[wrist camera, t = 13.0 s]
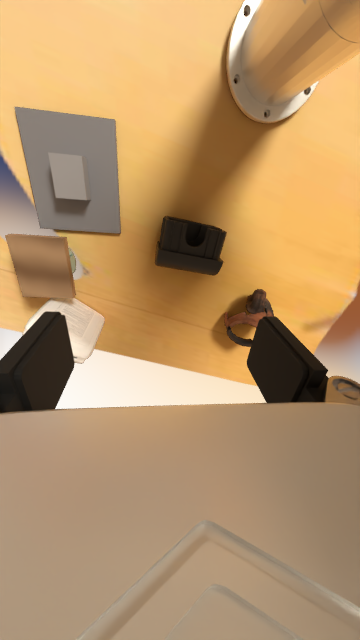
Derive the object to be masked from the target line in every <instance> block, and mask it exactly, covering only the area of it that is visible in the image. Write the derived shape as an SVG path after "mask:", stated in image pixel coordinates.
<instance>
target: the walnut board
mask: <svg viewBox="0 0 360 640" xmlns="http://www.w3.org/2000/svg"><path fill="white" fill-rule="evenodd" d="M5 237H6V240H7V244H8V247H9V250H10V254H11V257H12V261H13V264H14V268H15V271H16V275H17V278H18V281H19V285H20V288H21V292H22V295H23V297H48V298H74V297H75V295H76V292H75V286H74V280H73V274H72V268H71V261H70V255H69V249H68V243H67V237H55V236H39V235H22V234H8V235H6V236H5Z"/></svg>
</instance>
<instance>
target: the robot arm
mask: <svg viewBox="0 0 360 640" xmlns="http://www.w3.org/2000/svg"><path fill="white" fill-rule="evenodd" d="M243 13H245V14H246V17H245V16H244V14H243ZM359 53H360V0H244V1H243V3H242V5H241V7H240V9H239V11H238V13H237V16H236V18H235V21H234V23H233V26H232V29H231V33H230V37H229V40H228V47H227V55H226V70H227V77H228V83H229V87H230V90H231V94H232V96H233V98H234V100H235V102H236V104H237V106H238V107H239V108H240V110H241V111H242V112H243V113H244V114H245V115H246V116H248V117H249V118H250V119H252V120H254V121H256V122H261V123H274V122H278V121H281V120H283V119H285V118H287V117H289V116H290V115H292V114H293V113H295V112H296V111H297V110H298V109H299V108H300V107H301V106H302V105H303V104H304V103H305V102H306V101H307V100H308V99H309V97H310V96H311V95H312V93H313V91H314V90H315V88H316V86H317V84H318V82H319V80H320V79H322V78H323V77H325V76H326V75H328V74H329V73H331V72H332V71H334V70H335V69H337V68H338V67H340V66H341V65H343V64H344V63H346V62H347V61H349V60H350V59H352V58H353V57H355V56H356V55H358V54H359ZM234 80H236V81H237V83H236V84H235V83H234ZM304 91H305V94H304ZM264 113H265V114H266V117H264ZM247 366H248V368H249V370H250V372H251V374H252V376H253V378H254V380H255V382H256V384H257V385H258V387H259V389H260V391H261V393H262V395H263V397H264V399H265V400H266V402H267V403H248V404H247V403H245V404H205V405H173V406H172V405H171V406H141V407H140V406H137V407H109V408H82V409H81V408H79V409H55V408H56V406H57V403H58V401H59V399H60V397H61V394H62V392H63V390H64V388H65V386H66V383H67V381H68V379H69V377H70V375H71V373H72V371H73V368H74V357H73V352H72V347H71V342H70V337H69V332H68V327H67V322H66V317H65V315H61V313H60V312H51V311H45V312H44V313H43V314H42V315H41V316H40V317H39V318H38V320H37V321H36V322H35V323H34V324H33V325H32V326H31V327H30V328H29V329H28V330H27V332H26V333H25V334H24V335H23V336H22V337H21V338H20V339H19V340H18V342H17V343H16V344H15V345H14V346H13V347H12V348H11V349H10V350H9V351H8V352H7V354H6V355H5V356H4V357H3V358H2V359H1V360H0V640H360V384H358V383H357V382H355V381H353V380H351V379H349V378H345V377H342V376H332V377H330V378H328V377H327V376H326V373H327V371H328V370H327V369H326V368H325V366H323V364H322V363H320V361H319V360H318V359H317V358H316V357H315V356H314V355H313V354H312V353H311V352H310V351H309V350H308V349H307V348H306V347H305V346H304V345H303V344H302V343H301V342H300V341H299V340H298V339H297V338H296V337H295V336H294V335H293V334H292V333H291V332H290V330H289V329H288V328H287V327H286V326H285V325H284V324H283V323H282V322H281V321H280V320H279V319H278V318H277V317H271V316H264V317H263V318H262V319H260V320H259V322H258V325H257V328H256V332H255V335H254V339H253V342H252V345H251V349H250V352H249V356H248V359H247Z"/></svg>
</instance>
